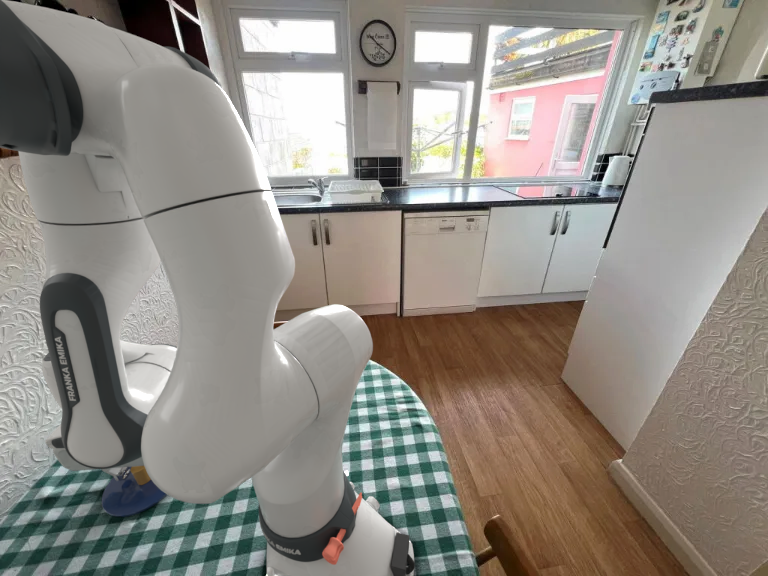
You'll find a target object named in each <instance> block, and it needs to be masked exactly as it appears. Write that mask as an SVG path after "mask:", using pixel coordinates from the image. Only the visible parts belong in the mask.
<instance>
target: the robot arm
mask: <svg viewBox="0 0 768 576" xmlns="http://www.w3.org/2000/svg"><path fill="white" fill-rule="evenodd" d="M0 148H1V149H6V150H11V151H15V152H18V158H19V162H20V163H19V164H20V167H21V173H22V177H23V182H24V185H25V189H26V192H27V196H28V198H29V199H28V200H29V201H30V204H31V207H32V210H33V213H34V215H35V218H36V220H37V223H38V226H39V229H40V232H41V236H42V240H43V244H44V245H43V246H44V253H45V277H44V283H43V285H42V289H41V292H40V296H39V315H40V320H41V325H42V331H43V334H44V339H45V343H46V347H47V351H48V353H47V354H45V356H44V357H43V358H42V362H41V371H42V374H43V378H44V381H45V382H46V385H47V387H48V389H49V391H50V393H51V395H52V397H53V398H54V400H55V401H56V403H57V405H58V406H59V407H60V408H61V421H60V424H59V425H58V426H57V427H56V428H55V429H54V430H52V432H51V433H50V434H49V436H48V437H47V438H46V439H45V441H44V442H45V444H46V446H47V447H48V448H50V449H52V450H53V451H52V453H53V454H54V456H55V458H56V459H57V461H58V462H59V463H60V465H61V466H62V467H63V468H64V469H66V470H69V471H72V472H79V471H92V470H93V471H94V470H101V471H102V472H104V473H106V474H108V475H110V476H112V477H114V478H115V480H116V481H120V480H126V479H127V478H128V476H129V475H130V473H131V471H130V469H129V467H132V466H145V469H146V471H147V473H148V475H149V477H150V478H151V480H152V481H153V483H154V484H155V485H156V486H157V487H158V488H159V489H160V490H161V491H163V492H164V493H166V494H167V496H168V497H170V498H173V499H175V500H177V501H180V502H183V503H187V504H198V505H207V504H213V503H215V502H216V501H218V500H220V499H221V498H222V497H225V496H226V495H227V494H230V492H232V491H233V490H235V489H237V488H238V487H240V486H241V485H243V484H244V483H245V482H247V481H248V480H250V479H251V482H252V486H253V489H254V492H255V496H256V499H257V502H258V507H257V508H258V509H257V510H258V522H259V526H260V530H261V532H262V535H263V536H264V538H265V541H266V575H265V576H415V568H416V563H415V554H414V553H415V552H414V548H413V543H412V542H411V540H410V535H409V534H405V533H401V532H400V530H398V529H397V528H395V527H394V526H393V525H392V524H391V523H389V522H388V521H387V519H385V518H384V517H383V516H382V515H381V514H380V513H379V512H378V511H379V509H380V508H381V507H380V506H381V505H380V502H379V501H378V500H377V499H376V498H375V497H374V496H372V495H370V496H368V497H367V498H366V499H364V497H363V493H362V492H359V493H358V492H357V491H356V490H355V488H356V485H354V483H353V482H352V481H350V480H349V478H348V476H349V471H348V470H345V471H344V463H343V444H344V439H345V434H346V430H347V425H348V422H349V421H348V420H349V417H350V413H351V409H352V406H353V402H354V398H355V395H356V392H357V389H358V385H359V384H360V381H361V378H362V376H363V374H364V371H365V369H366V368H367V366H368V364H369V362H370V360H371V358H372V355H373V351H374V343H373V338H372V334H371V331H370V329H369V327H368V325H367V324H366V323H365V321H364V320H363V319H362V317H361V316H360V315H359V314H358V313H356V311H354V310H352V309H351V308H349V307H347V306H345V305H343V304H337V303H334V304H329V305H325V306H321V307H318V308H314V309H312V310H309V311H305V312H302V313H300V314H298V315H296V316H295V317H293V318H291V319H289V320H288V321H286V322H284V323H283V324H281V325H279V326H278V327H276V328H274V324H275V319H276V313H277V309H278V307H279V304H280V301H281V299H282V297H283V296H284V294H285V293H286V291H287V290H288V288H289V287H290V285H291V283H292V281H293V279H294V277H295V272H296V258H295V255H294V252H293V249H292V247H291V244H290V241H289V237H288V234H287V232H286V228H285V226H284V222H283V220H282V217H281V214H280V210H279V208H278V205H277V202H276V198H275V196H274V193H273V191H272V188H271V184H270V181H269V179H268V176H267V174H266V171H265V169H264V166H263V164H262V161H261V159H260V157H259V156H260V155H259V154H258V152H257V150H256V147H255V145H254V143H253V141H252V138H251V137H250V134H249V132H248V131H247V128H246V126H245V125H244V122H243V120H242V118H241V117H240V114H239V113H238V111H237V109H236V108H235V106H234V104H233V102H232V101H231V99H230V97H229V96H228V95H227V93H226V91H225V90H224V89H223V86H222V84H221V82H220V81H219V79H218V76H216V75H215V73H214V72H213V71H212V70H211V69H210V68H209V66H208V65H205V64H204V63H203V62H201V61H200V60H199V59H197V58H195V57H193V56H192V55H190V54H188V53H186V52H184V51H182V50H180V49H178V48H177V47H173V46H162V45H160V44H157V43H155V42H153V41H150V40H148V39H146V38H143V37H140V36H137V35H136V34H132V33H131V32H127V31H124V30H121V29H119V28H115V27H112V26H109V25H106V24H104V23H103V22H101V21H99V20H97V19H92V18H89V17H86V16H82V15H79V14H75V13H70V12H66V11H62V10H58V9H54V8H50V7H46V6H40V5H35V4H30V3H25V2H19V1H14V0H0ZM160 263H161V264H162V267H163V270H164V272H165V275H166V279H167V280H168V283H169V286H170V290H171V292H172V295H173V298H174V301H175V302H174V303H175V306H176V311H177V320H178V336H177V345H174V344H170V343H169V344H168V343H153V344H143V343H137V342H130V341H126V340H122V339H121V332H122V331H121V330H122V326H123V322H124V321H125V317H126V315H127V313H128V310H129V309H130V307H131V306H132V304H133V302H134V300H135V299H136V297H137V296H138V294H139V293H140V292H141V290H142V289H143V287H144V286H145V285H146V283H147V282H148V281H149V279H151V277H152V276H153V275H154V273H155V272H156V270H157V269H158V267H159V265H160Z"/></svg>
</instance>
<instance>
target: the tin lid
mask: <svg viewBox="0 0 768 576" xmlns="http://www.w3.org/2000/svg"><path fill="white" fill-rule="evenodd" d="M129 469H130V471H131V473H130V475H129V476H128V478H127V479H126V480H120V481H116V480H115V478H114V476H112V478H111V479H110V480H109V482H108V483H107V485H106V487H105V489H104V490H103V493H102V495H101V507H102V510H103V511H104V512H105V513H106V514H107V515H109V516H111V517H113V518H127V517H132V516H135V515H138V514H140V513H142V512H144V511H145V512H146V511H147V510H149V509H150V508H152V507H153V506H155V505H157V504H158V503H160V502H161V501H162V500H164V499H165V498H166V497H167V496H168V495H167V494H166V493H164V492H163V491H161V490H160V489H159V488H158V487H157V486H156V485H155V484H154V483H153V481H152V480H151V478H150V477H149V475H148V473H147V471H146V469H145V466H132V467H129Z"/></svg>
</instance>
